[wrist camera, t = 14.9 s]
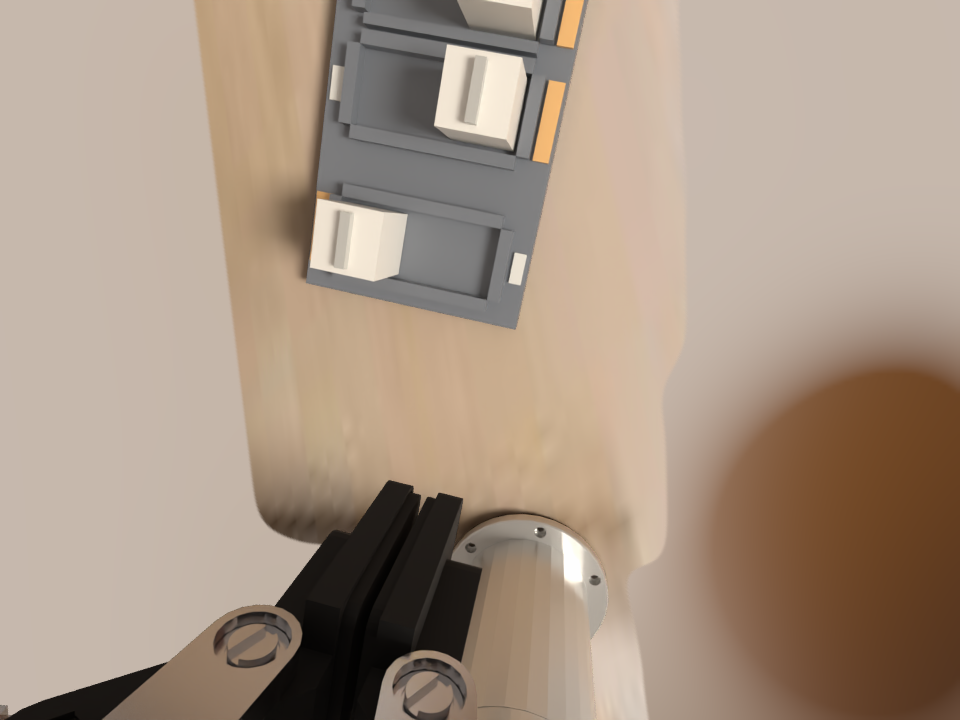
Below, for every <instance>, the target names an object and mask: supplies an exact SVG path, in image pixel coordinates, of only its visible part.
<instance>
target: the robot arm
mask: <svg viewBox="0 0 960 720" xmlns="http://www.w3.org/2000/svg"><path fill="white" fill-rule="evenodd" d="M413 489H414V488H413V486H411V485H407V484H403V483H399V482H395V481H391V480H388V482H387V483H386V484H385V486H384V487H383V489H382V490H381V491H380V493H379V494H378V496H377V497H376V499H375V500H374V502H373V503H372V504H371V506H370V507H369V509H368V510H367V512H366V513H365V515H364V516H363V518H362V519H361V520H360V522H359V523H358V525H357V526H356V528H355V529H354V531H353V532H352V533H351V534H350V533H346V532H342V531H338V530H334V531H332V532H331V533H330V534H329V535H328V537H327V538H326V539H325V541H324V542H323V543H322V545H321V546H320V547H319V549H318V550H317V551H316V553H315V554H314V555H313V556H312V558H311V559H310V560H309V562H308V563H307V564H306V566H305V567H304V568H303V570H302V571H301V572H300V574H299V575H298V576H297V577H296V579H295V580H294V581H293V583H292V584H291V586H290V587H289V588H288V589H287V591H286V592H285V593H284V595H283V596H282V597H281V598H280V600H279V601H278V602H277V604H276V605H275V606H270V605H253V606H247V607H241V608H239V609H236V610H234V611H231V612H229V613H227V614H225V615H224V616H222V617H221V618H219V619H218V620H216V621H215V622H214V623H213V624H211V625H210V626H209V627H208V628H207V629H206V630H204V631H203V632H202V633H201V634H200V635H199V636H198V637H196V639H194V640H193V641H192V642H191V643H190V644H188V645H187V646H186V647H185V648H184V649H183V650H182V651H180V652H179V653H178V654H177V655H176V656H175V657H173V658H172V659H171V660H170V661H169V662H166V663H163V664H160V665H156V666H153V667H150V668H147V669H143V670H140V671H137V672H134V673H130V674H127V675H124V676H121V677H118V678H114V679H111V680H108V681H105V682H101V683H98V684H95V685H92V686H89V687H86V688H82V689H79V690H76V691H73V692H69V693H66V694H63V695H60V696H56V697H53V698H50V699H47V700H43V701H41V702H38V703H36V704H33V705H31V706H28V707H26V708H24V709H21V710H20V711H18V712H17V713H15V714H13V715H8V706H5V705H3V706H2V705H0V720H597V719H596V706H595V693H594V679H593V666H592V653H591V639H592V638H593V637H594V635H595V634H596V633H597V631H598V630H599V629H600V627H601V625H602V622H603V620H604V618H605V616H606V611H607V606H608V587H607V581H606V575H605V572H604V569H603V567H602V564H601V562H600V560H599V558H598V557H597V555H596V553H595V552H594V550H593V549H592V547H591V546H590V545H589V544H588V543H587V542H586V541H585V540H584V539H583V538H582V537H581V536H579V535H578V534H577V533H575V532H574V531H573V530H571V529H570V528H568V527H566V526H564V525H562V524H560V523H558V522H556V521H554V520H551V519H547V518H544V517H541V516H535V515H527V514H515V515H505V516H500V517H496V518H492V519H490V520H488V521H485V522H483V523H481V524H479V525H477V526H476V527H474V528H473V529H472V530H470V531H469V532H467V533H466V534H465V536H464V537H463V538H462V539H461V540H460V541H459V542H458V543H457V545H456V547H455V548H454V543H455V538H456V533H457V528H458V524H459V519H460V514H461V509H462V504H463V498H459V497H455V496H451V495H447V494H443V493H438V495H437V497H436V499H435V498H431V497H427V499H426V501H425V503H424V505H423V507H422V509H421V511H420V513H419V515H418V512H419V506H420V500H421V495H419V494H415V493H413ZM538 527H542V529H540V528H538ZM472 543H473V544H472ZM453 548H454V550H453Z"/></svg>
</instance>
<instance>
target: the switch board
mask: <svg viewBox="0 0 960 720" xmlns="http://www.w3.org/2000/svg"><path fill="white" fill-rule="evenodd" d="M587 4H588V0H337V4H336V13H335V22H334V32H333V41H332V50H331V59H330V68H329V78H328V87H327V96H326V105H325V114H324V124H323V133H322V142H321V151H320V160H319V170H318V179H317V188H316V197H315V206H314V216H313V225H312V234H311V243H310V252H309V262H308V271H307V280H306V283H308V284H313V285H317V286H322V287H326V288H331V289H335V290H340V291H344V292H349V293H353V294H358V295H362V296H367V297H371V298H376V299H380V300H385V301H389V302H394V303H398V304H403V305H407V306H412V307H416V308H421V309H425V310H430V311H434V312H439V313H443V314H447V315H452V316H456V317H461V318H465V319H470V320H474V321H479V322H483V323H488V324H492V325H497V326H501V327H506V328H510V329H516V327H517V323H518V319H519V314H520V309H521V305H522V300H523V296H524V291H525V287H526V282H527V278H528V273H529V268H530V264H531V259H532V255H533V250H534V246H535V241H536V236H537V232H538V227H539V223H540V218H541V214H542V209H543V205H544V200H545V195H546V191H547V186H548V182H549V177H550V173H551V168H552V164H553V159H554V154H555V150H556V145H557V141H558V136H559V132H560V127H561V123H562V118H563V113H564V109H565V104H566V100H567V95H568V91H569V86H570V82H571V77H572V72H573V68H574V63H575V59H576V54H577V50H578V45H579V40H580V36H581V31H582V27H583V22H584V18H585V13H586V9H587ZM447 44H448V45H454V46H459V47H465V48H471V49H476V50H482V51H488V52H493V53H499V54H505V55H510V56H516V57H522V59H523V64H524V68H525V73H526V77H527V82H528V84H527V89H526V94H525V99H524V104H523V109H522V114H521V119H520V124H519V129H518V134H517V139H516V144H515V149H514V152H511V151H506V150H501V149H496V148H490V147H485V146H480V145H475V144H470V143H465V142H459V141H454V140H451V139H450V138H449V137H447V136H446V135H445V134H444V133H442V132H441V131H440V130H439V129H437V128H436V127H435V126H434V123H435V116H436V110H437V104H438V98H439V92H440V85H441V79H442V73H443V67H444V60H445V54H446V48H447ZM317 199H326V200H335V201H344V202H351V203H356V204H361V205H366V206H371V207H376V208H380V209H385V210H390V211H395V212H400V213H404V214H408V216H407V222H406V229H405V235H404V242H403V248H402V255H401V261H400V268H399V274H397V275H394V276H391V277H387V278H384V279H381V280H377V281H369V280H365V279H360V278H356V277H351V276H347V275H342V274H338V273H333V272H328V271H324V270H319V269H315V268H310V262H311V253H312V244H313V235H314V225H315V216H316V207H317Z"/></svg>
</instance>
